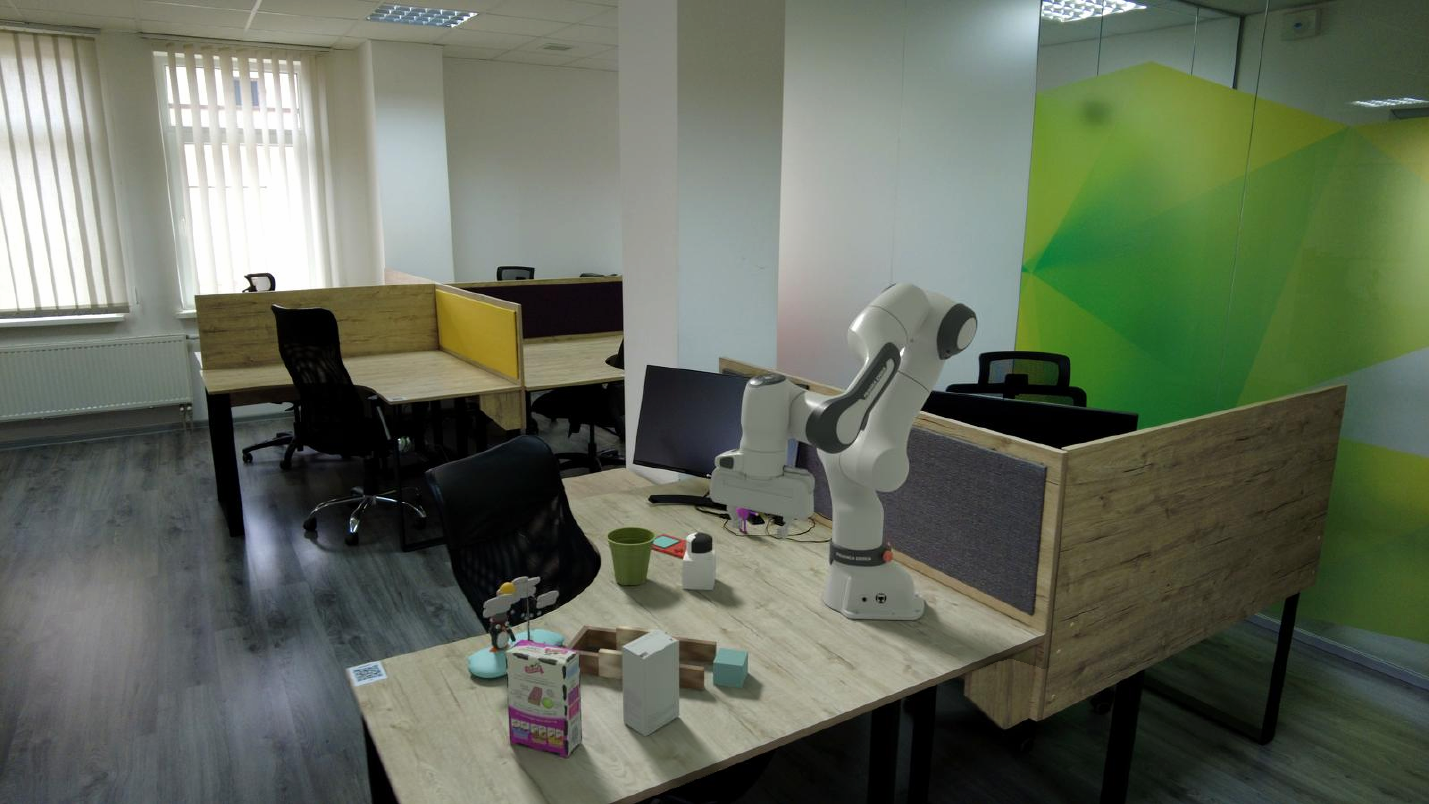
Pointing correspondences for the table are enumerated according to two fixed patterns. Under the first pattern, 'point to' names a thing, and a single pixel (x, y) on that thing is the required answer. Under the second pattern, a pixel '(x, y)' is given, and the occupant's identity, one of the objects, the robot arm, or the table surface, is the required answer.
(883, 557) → the robot arm
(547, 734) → the candy bar box
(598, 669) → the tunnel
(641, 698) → the skincare box
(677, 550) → the handheld gaming console
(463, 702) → the table surface
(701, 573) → the medicine bottle
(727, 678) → the teal block
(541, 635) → the penguin figurine
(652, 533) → the plant pot
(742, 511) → the wizard figurine
